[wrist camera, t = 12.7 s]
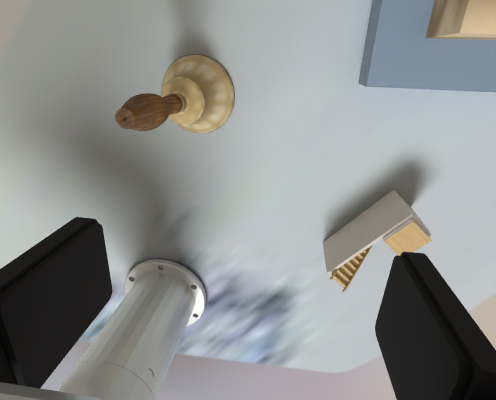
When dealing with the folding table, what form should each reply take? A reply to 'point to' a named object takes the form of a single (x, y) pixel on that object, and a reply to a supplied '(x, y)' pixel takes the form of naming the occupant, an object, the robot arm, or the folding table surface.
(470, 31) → the oak cube
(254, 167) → the folding table surface
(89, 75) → the folding table surface
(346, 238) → the model
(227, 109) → the hand bell
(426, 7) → the slate base
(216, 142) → the folding table surface
